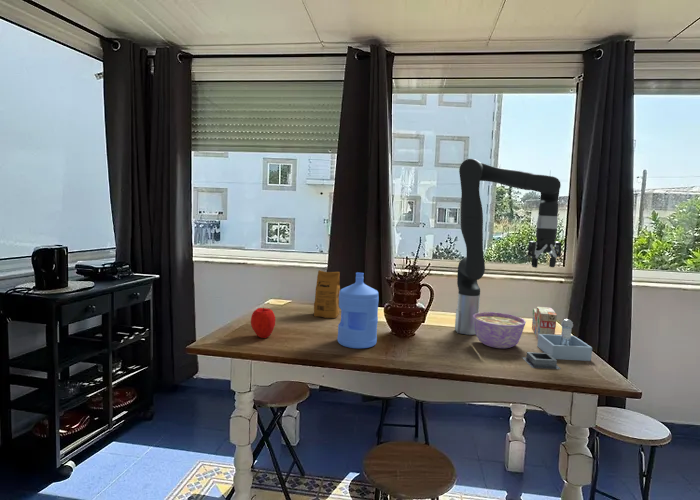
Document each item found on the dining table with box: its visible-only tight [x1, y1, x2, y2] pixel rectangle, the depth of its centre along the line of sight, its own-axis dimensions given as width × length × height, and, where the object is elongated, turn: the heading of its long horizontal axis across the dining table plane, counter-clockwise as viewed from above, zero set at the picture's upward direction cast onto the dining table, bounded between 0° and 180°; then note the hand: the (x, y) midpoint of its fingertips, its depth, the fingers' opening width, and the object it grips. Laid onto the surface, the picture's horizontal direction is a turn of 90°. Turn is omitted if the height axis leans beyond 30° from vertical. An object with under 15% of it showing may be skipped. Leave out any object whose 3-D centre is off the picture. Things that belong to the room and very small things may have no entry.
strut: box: [560, 318, 574, 346], centre depth 163 cm, size 4×4×14 cm
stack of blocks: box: [531, 306, 558, 340], centre depth 191 cm, size 21×6×12 cm, turn 165°
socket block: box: [521, 351, 562, 370], centre depth 153 cm, size 10×10×4 cm
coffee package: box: [313, 269, 341, 319], centre depth 208 cm, size 10×12×22 cm
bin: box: [536, 334, 593, 362], centre depth 165 cm, size 14×14×6 cm
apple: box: [250, 307, 276, 339], centre depth 173 cm, size 10×10×12 cm
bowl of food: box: [473, 311, 527, 349], centre depth 172 cm, size 20×20×12 cm
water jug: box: [337, 271, 379, 350], centre depth 169 cm, size 16×16×28 cm
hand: (543, 267), depth 174 cm, fingers open, 8 cm apart
